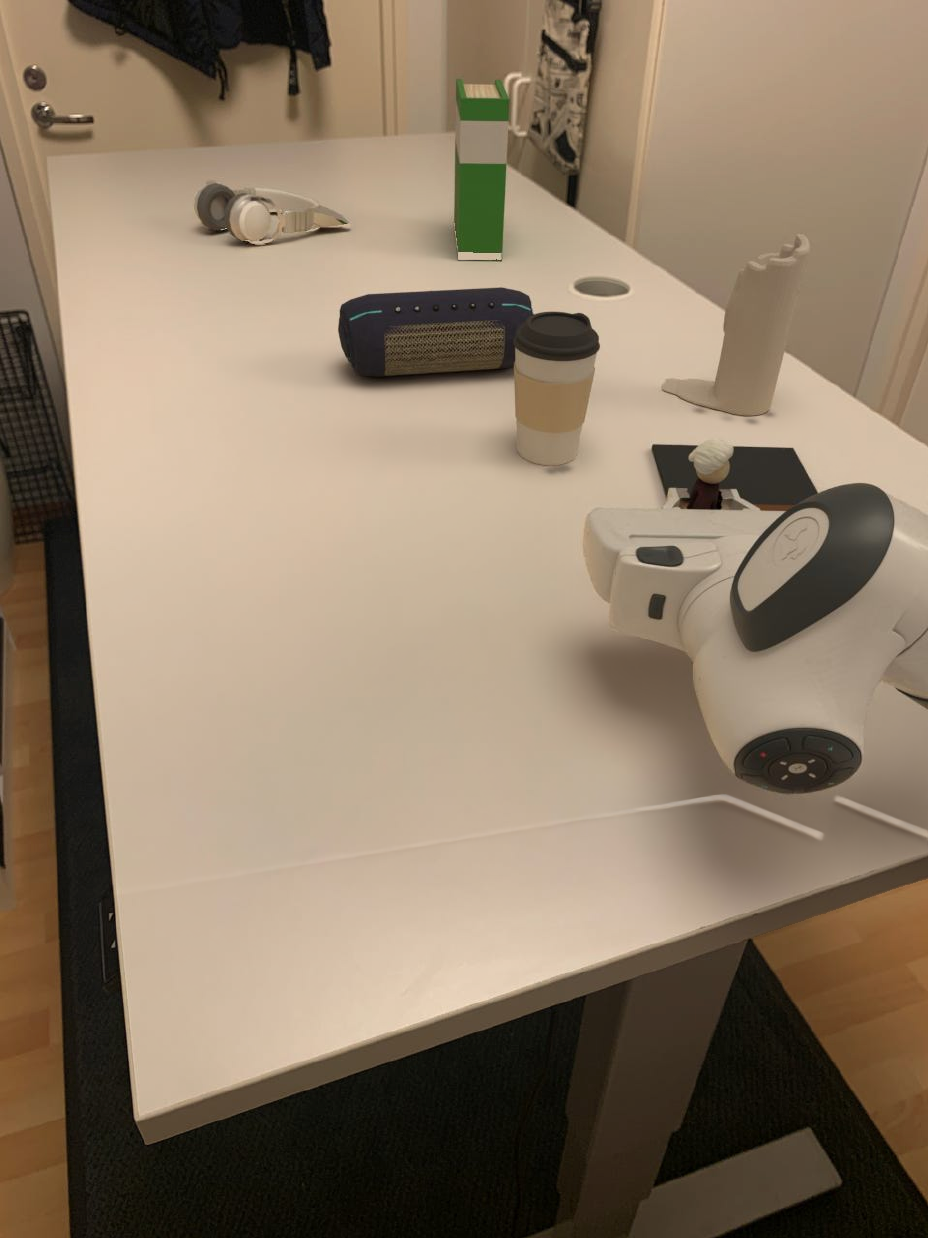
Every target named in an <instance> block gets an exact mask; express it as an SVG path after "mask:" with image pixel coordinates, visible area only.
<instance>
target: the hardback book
mask: <svg viewBox="0 0 928 1238" xmlns="http://www.w3.org/2000/svg"><path fill="white" fill-rule="evenodd" d="M510 100H511V99H510V97H509V95H508V93H507V91H506V88H505V86H504V84H503V82H502V80H501V79H496V78H495V79H494V84H482V83H481V84H479V83H478V84H477V83H464V82H463V79H462V78H456V79H455V125H454V126H455V128H454V129H455V134H454V135H455V136H454V200H453V201H454V202H453V204H454V207H453V208H454V209H453V224H454V223H455V231H456V238H457V246H458V252H473V253H502V254H503V248H504V246H503V245H504V226H505V225H504V224H505V207H506V206H505V203H506V185H507V184H506V183H507V163H508V143H509V141H508V139H509V122H510V121H509V119H510V102H511V101H510ZM496 260H497V259H496ZM496 260H494V261H493V262H503V258H502V259H501V260H497V261H496Z"/></svg>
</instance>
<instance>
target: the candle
mask: <svg viewBox="0 0 928 1238" xmlns="http://www.w3.org/2000/svg"><path fill="white" fill-rule="evenodd" d="M810 253H811V244H810V241H809V238H808V237H807V236H806V235H804V234H802V233H798V234H797V235H796V236H795V239H794V243H793V244H789V243H783V245H782V247H781V249H780V251H779V252H770V253H764V254H760V255H758V257H756V258H755V260H750V261H748V262H747V263H746V265H745V267H743V268H740V269H739V271H738V274H737V277H736V280H735V283H734V285H733V288H732V291H731V293H730V295H729V298H728V300H727V304H726V307H725V312H724V318H723V326H722V327H723V333H724V334H723V339H722V340H723V341H722V345H721V346H722V347H721V351H720V356H719V361H718V367H717V370H716V375H715V379H714V381H711V380H705V379H699V378H686V379H678V378H667V379H665V382H664V383H663V384H662V386H661V389H662V390H663V391H664V392H666V393H669V394H673V395H676V396H678V397H679V398H680V399H682V400H684V401H687V402H688V403H691V404H695V405H698V406H702V407H705V408H710V409H713V410H716V411H717V410H718V411H721V412H725V413H729V414H733V415H736V416H745V417H746V416H747V417H748V416H751V417H752V416H760V415H764V414H766V413H767V412H768V411H770V409H771V407H772V404H773V403H772V402H773V398H774V395H775V391H776V387H777V383H778V379H779V375H780V371H781V367H782V364H783V359H784V355H785V351H786V348H787V347H786V345H787V341H788V337H789V333H790V329H791V325H792V321H793V318H794V314H795V312H796V307H797V304H798V301H799V296H800V292H801V288H802V286H803V281H804V278H805V274H806V270H807V265H808V261H809V259H810V258H809V257H810Z"/></svg>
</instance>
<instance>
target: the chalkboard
mask: <svg viewBox="0 0 928 1238" xmlns="http://www.w3.org/2000/svg"><path fill="white" fill-rule="evenodd" d="M699 445H700V444H663V443H660V444H659V443H653V444H652V445H651V450H652V454H653V457H654V460H655V464H656V467H657V470H658V474H659V477H660V480H661V483H662V487H663V490H664V492H665V496H666V497H665V498H667V495H668V489H669V488H687V489H688V493H689V495H691V493H692V490H693V487H694V485H695V482H696V480H697V479H698V478H699V477H698V475H697V472H696V468H695V467H694V462H691V461H690V460H689V455H690V454H691V453H692V452H693V450H694V449H696V448H697V446H699ZM732 447H733V455H732V456H731V457H730V458H729V459H728V461H729V465H730V468H729V473H728V475H727V476H726V478H725V479H724V480H722V481H721V482H719V483H720V489H736V490H737V492H738V494H739V496H740V499H744V500H745V501H747V502H749V503H751V504H753V505H754V506H756V507H758V508H760V511H787V510H789V509H790V508H792V507H793V506H795V505H797V504H798V503H800V502H802V501H803V500H805V499H807V498H809V497H811V496H813V495H815V494H817V493H819V492H818V490H817V489H816V486H815V485H814V483H813V481H812V478H810V476H809V474H808V472H807V470H806V468H805V466H804V465H803V463H802V461H801V459H800V457H799V456H798V453H797V452H796V450H795V448H794V447H784V446H783V447H780V446H779V447H778V446H742V445H741V446H739V445H737V446H736V445H735V446H734V445H732Z"/></svg>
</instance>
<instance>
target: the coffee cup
mask: <svg viewBox="0 0 928 1238" xmlns="http://www.w3.org/2000/svg"><path fill="white" fill-rule="evenodd" d="M533 314H534V315H532V316H530V317H529V318H528V319H527V320H526V322H525V323H523V324H522V325H521V326H520V327H519V328H518V329H517V331H516V336H515V337H514V339H513V344H514V346H515V358H516V361H515V362H514V367H513V381H514V382H513V383H514V412H515V413H514V414H515V418H516V419H515V420H516V451H517V453H518V455H519V456H520V457H521V458H522V459H524V460H526V461H527V462H530V463H532V464H536V465H540V466H541V465H542V466H560V465H564V464H569V463H570V462H572V461H573V460H574V459H576V457H577V454H578V450H579V445H580V441H581V434H582V429H583V425H584V423H585V420H586V415H587V411H588V407H589V406H588V405H589V401H590V395H591V391H592V387H593V382H594V376H595V372H596V367H595V364H596V360H597V354H598V352H599V351H600V348H601V344H600V336H599V334H598V332H597V331H596V330H595V329H594V328H593V327H592V323H591V320H590V317H589V316H587V314H584V313H582V312H576V313H570V312H564V311H542V312H537V313H533Z"/></svg>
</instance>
